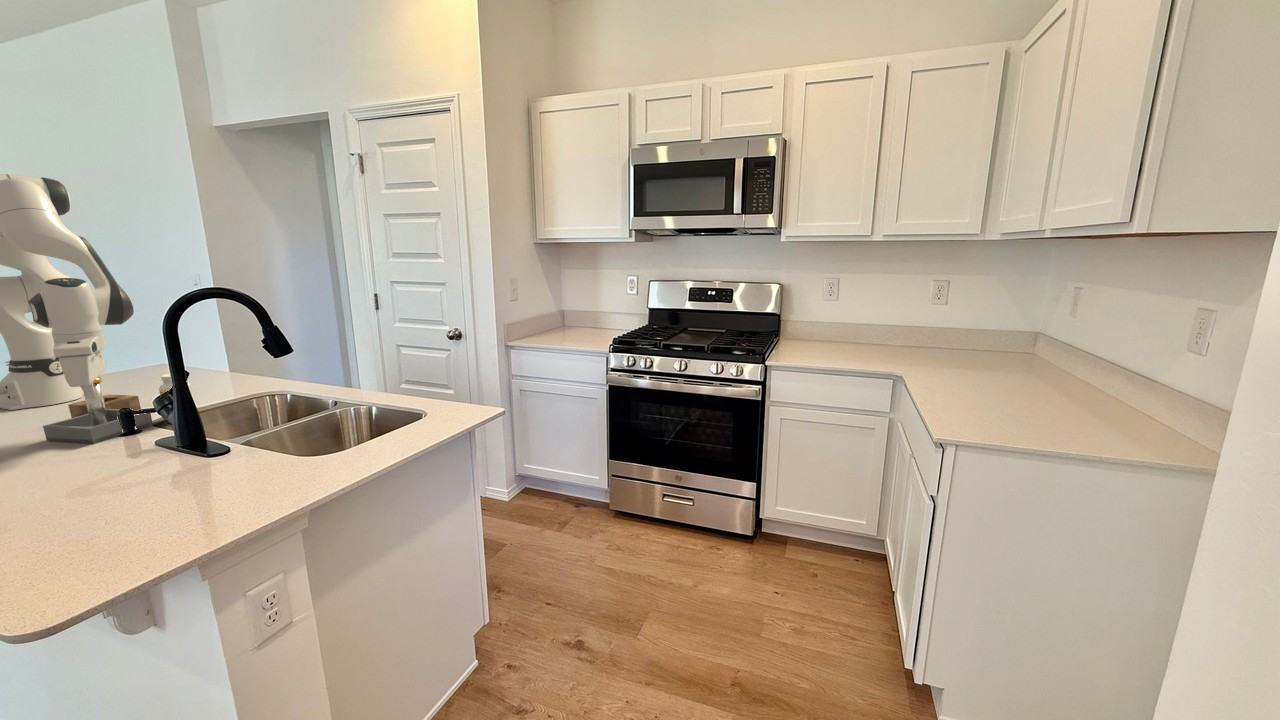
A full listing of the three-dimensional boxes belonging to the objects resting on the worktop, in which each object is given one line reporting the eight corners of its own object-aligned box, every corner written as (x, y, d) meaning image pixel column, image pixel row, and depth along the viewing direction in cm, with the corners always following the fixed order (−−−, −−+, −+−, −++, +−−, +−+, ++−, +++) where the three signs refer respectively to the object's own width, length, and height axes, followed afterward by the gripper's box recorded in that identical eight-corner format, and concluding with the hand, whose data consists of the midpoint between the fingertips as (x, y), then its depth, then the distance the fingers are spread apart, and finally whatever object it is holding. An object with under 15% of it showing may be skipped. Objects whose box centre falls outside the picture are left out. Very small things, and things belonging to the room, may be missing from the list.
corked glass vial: (87, 427, 133) (76, 381, 130) (91, 423, 136) (80, 378, 133) (109, 424, 135) (98, 379, 132) (112, 420, 138) (102, 375, 135)
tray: (46, 441, 130) (42, 425, 129) (109, 422, 144) (106, 408, 143) (93, 444, 128) (89, 428, 127) (153, 424, 142) (150, 411, 141)
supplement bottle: (170, 416, 149) (161, 373, 146) (199, 413, 151) (191, 370, 149) (161, 423, 143) (152, 378, 140) (191, 420, 145) (183, 376, 143)
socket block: (72, 421, 144) (68, 404, 143) (112, 410, 154) (109, 394, 153) (102, 423, 143) (98, 406, 142) (141, 412, 152) (138, 395, 151)
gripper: (73, 338, 137) (85, 388, 140) (50, 351, 121) (65, 407, 124) (106, 336, 140) (117, 385, 144) (89, 348, 125) (102, 403, 128)
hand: (93, 395), depth 134 cm, fingers closed on corked glass vial, 3 cm apart
